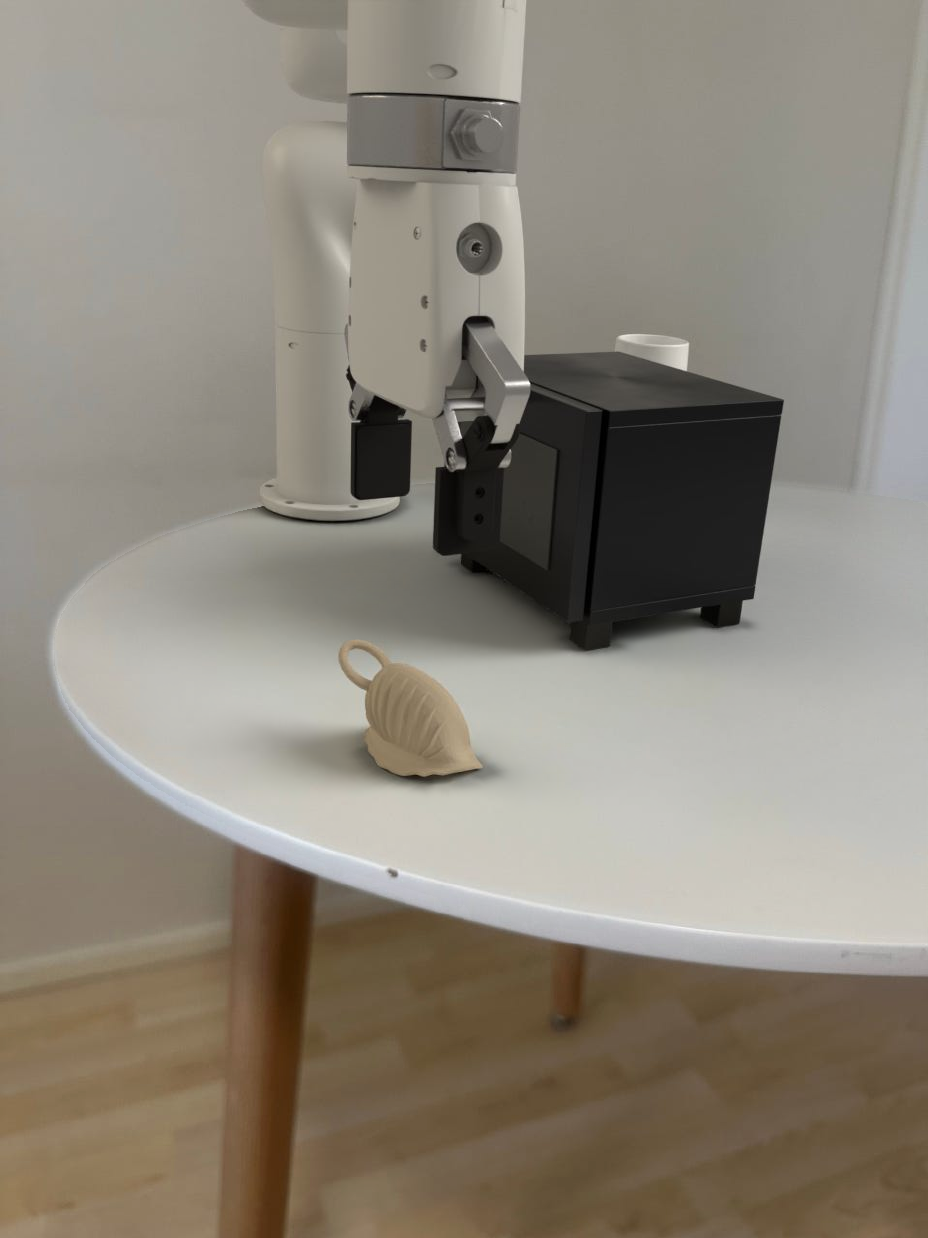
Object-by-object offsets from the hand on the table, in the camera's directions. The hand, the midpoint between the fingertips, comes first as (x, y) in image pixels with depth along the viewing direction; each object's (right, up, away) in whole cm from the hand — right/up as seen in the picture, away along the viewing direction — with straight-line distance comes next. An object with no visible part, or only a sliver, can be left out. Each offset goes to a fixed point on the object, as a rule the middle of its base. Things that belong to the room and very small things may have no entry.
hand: (420, 522), depth 57 cm
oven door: (+2, -2, +23) cm, 24 cm away
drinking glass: (+19, +6, +53) cm, 57 cm away
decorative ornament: (-1, -12, +5) cm, 13 cm away
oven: (+12, -3, +29) cm, 32 cm away
